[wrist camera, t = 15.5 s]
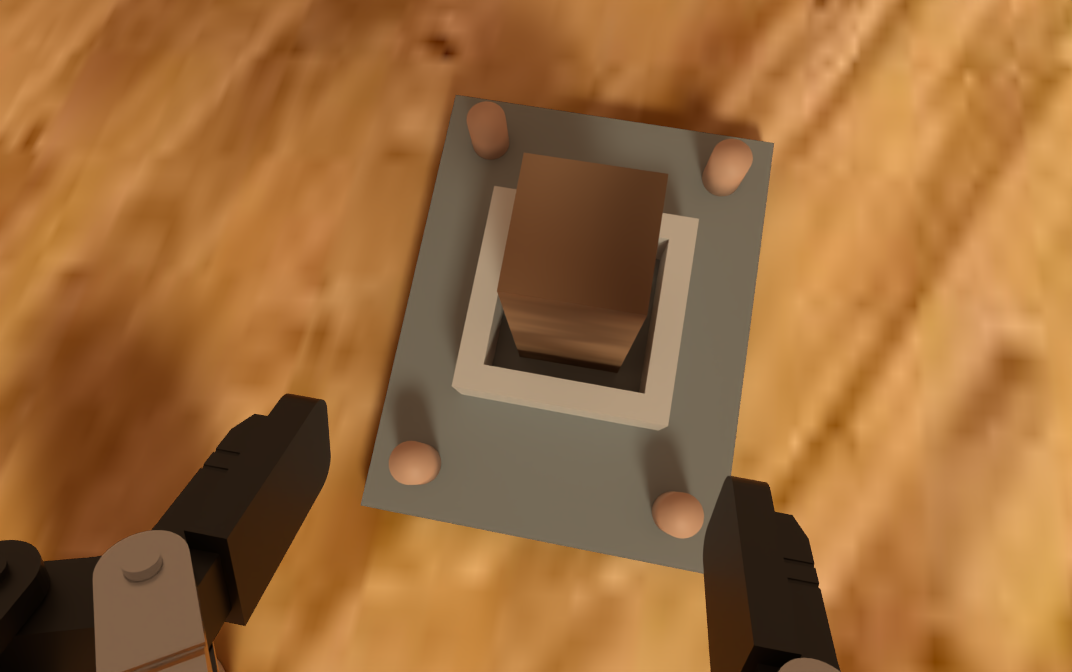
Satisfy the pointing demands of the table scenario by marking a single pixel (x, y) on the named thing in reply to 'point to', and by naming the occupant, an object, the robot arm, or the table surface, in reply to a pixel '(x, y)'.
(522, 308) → the brown block
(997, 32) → the table surface
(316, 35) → the table surface
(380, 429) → the housing plate
